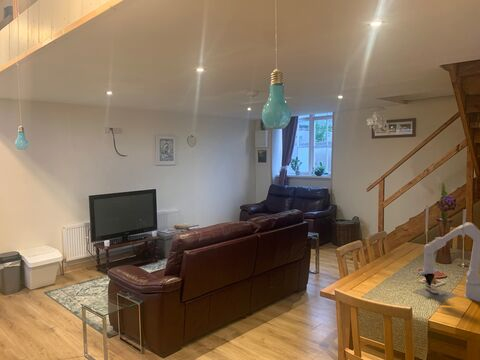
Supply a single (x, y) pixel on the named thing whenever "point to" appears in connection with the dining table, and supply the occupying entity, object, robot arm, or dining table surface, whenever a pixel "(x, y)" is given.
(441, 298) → the crank base
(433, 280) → the block
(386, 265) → the dining table surface
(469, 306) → the dining table surface
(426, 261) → the robot arm
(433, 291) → the crank
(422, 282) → the tray
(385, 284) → the dining table surface
